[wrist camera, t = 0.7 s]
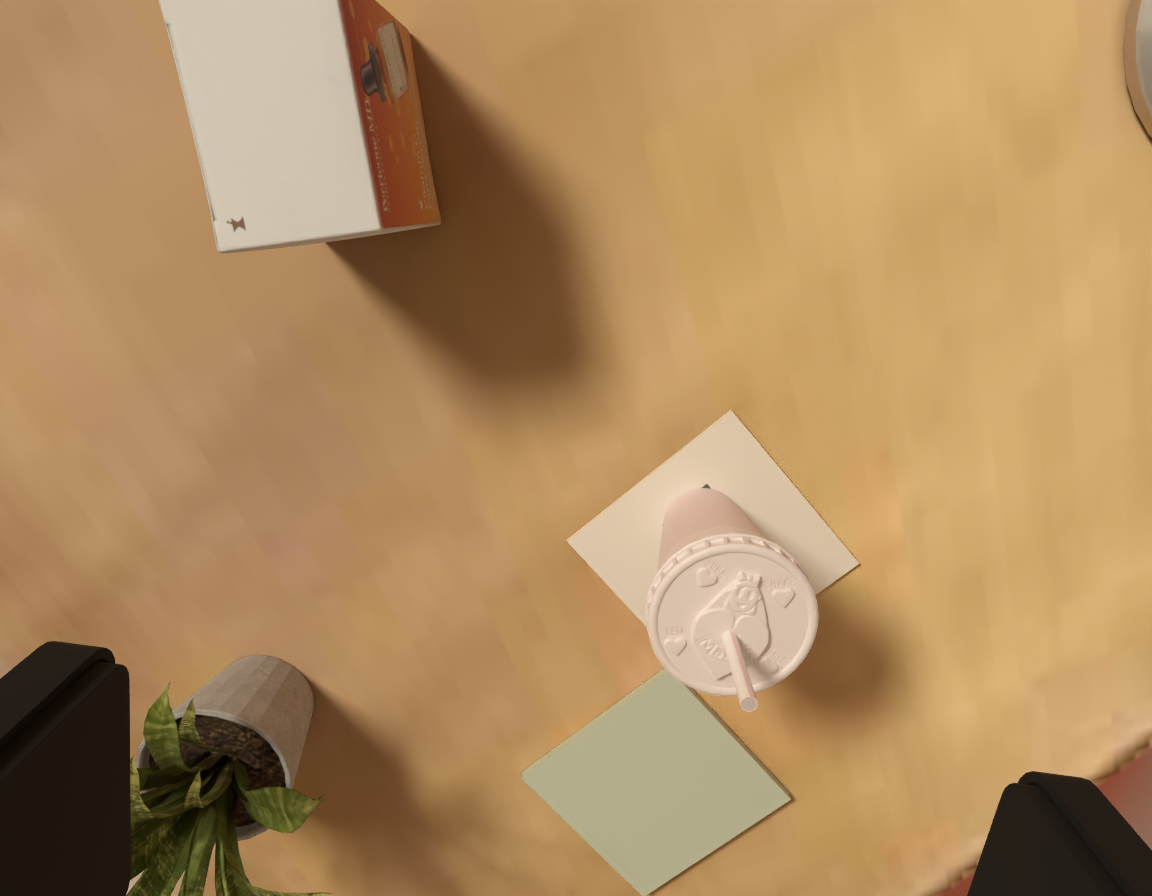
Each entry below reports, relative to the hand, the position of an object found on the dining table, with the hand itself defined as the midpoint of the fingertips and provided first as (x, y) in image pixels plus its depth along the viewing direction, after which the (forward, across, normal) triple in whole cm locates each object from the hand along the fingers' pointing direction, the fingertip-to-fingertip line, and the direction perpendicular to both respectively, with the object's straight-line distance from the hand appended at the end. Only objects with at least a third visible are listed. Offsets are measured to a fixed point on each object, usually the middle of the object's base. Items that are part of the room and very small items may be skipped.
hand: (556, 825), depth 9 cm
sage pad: (+31, -7, +22) cm, 39 cm away
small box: (+31, +10, -7) cm, 33 cm away
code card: (+31, -8, +9) cm, 33 cm away
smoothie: (+31, -7, +8) cm, 32 cm away
